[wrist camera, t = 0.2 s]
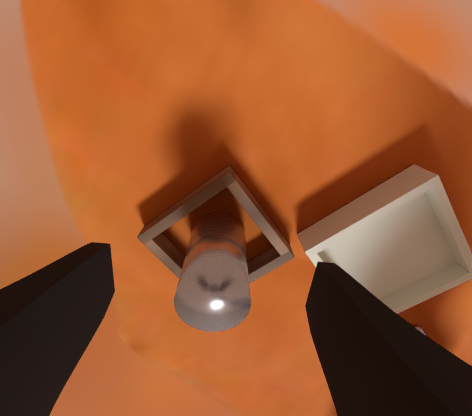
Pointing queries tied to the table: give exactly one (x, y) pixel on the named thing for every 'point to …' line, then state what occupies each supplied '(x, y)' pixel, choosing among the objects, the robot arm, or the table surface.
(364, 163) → the table surface
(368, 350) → the robot arm
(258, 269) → the walnut collar
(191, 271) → the dowel pin
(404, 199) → the beige shallow square tray
